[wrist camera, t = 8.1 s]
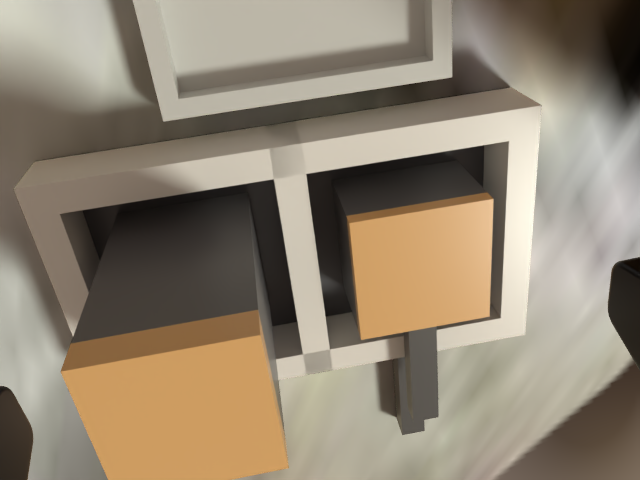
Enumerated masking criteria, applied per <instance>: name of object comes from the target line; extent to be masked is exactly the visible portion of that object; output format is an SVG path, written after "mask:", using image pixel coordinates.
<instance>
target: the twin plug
mask: <svg viewBox="0 0 640 480" xmlns="http://www.w3.org/2000/svg"><path fill="white" fill-rule="evenodd" d="M332 185H333V194H334V203H335V212H336V221H337V230H338V239H339V248H340V256H341V265H342V274H343V283H344V289H345V292H346V295H347V298H348V301H349V304H350V307H351V310H352V313H353V317H354V320H355V323H356V326H357V329H358V332H359V335H360V338H361V340H364V339H370V338H375V337H381V336H386V335H392V334H397V333H403V332H404V350H405V357H401V358H396V359H393V372H394V387H395V401H396V416H397V421H398V424H399V427H400V429H401V432H402V435H405V434H410V433H415V432H421V431H424V420H425V419H430V418H436V417H438V372H437V326H441V325H447V324H452V323H458V322H463V321H469V320H474V319H480V318H485V317H490V288H491V260H492V231H493V202H494V199H493V198H492V197H491V196H490V195H489V194H488V193H487V191H486V190H485V189H484V188H483V187H482V186H481V185H480V184H479V183H478V182H477V181H476V180H475V179H474V178H473V177H472V176H471V175H470V174H469V173H468V171H467V170H466V169H465V168H464V167H463V166H462V165H461V164H460V163H459V162H458V161H457V160H455V161H449V162H443V163H437V164H430V165H424V166H418V167H412V168H406V169H400V170H394V171H388V172H381V173H375V174H369V175H363V176H357V177H351V178H345V179H339V180H332Z"/></svg>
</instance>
